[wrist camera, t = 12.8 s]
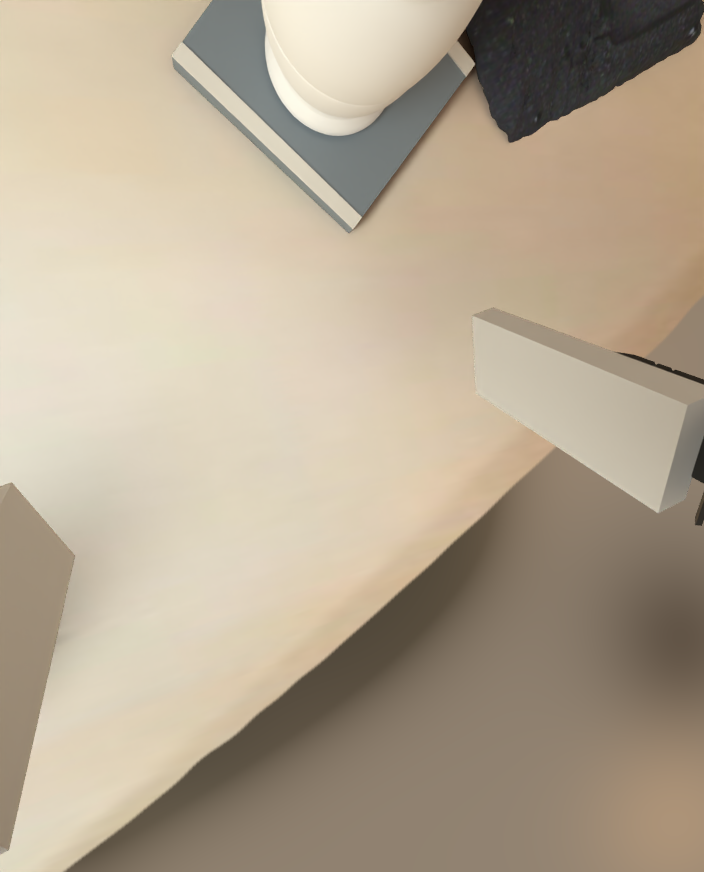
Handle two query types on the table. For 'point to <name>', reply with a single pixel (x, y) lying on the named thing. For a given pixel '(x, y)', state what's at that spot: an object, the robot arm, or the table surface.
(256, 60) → the slate card
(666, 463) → the robot arm
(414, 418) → the table surface
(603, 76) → the dark flat piece
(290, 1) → the jar
